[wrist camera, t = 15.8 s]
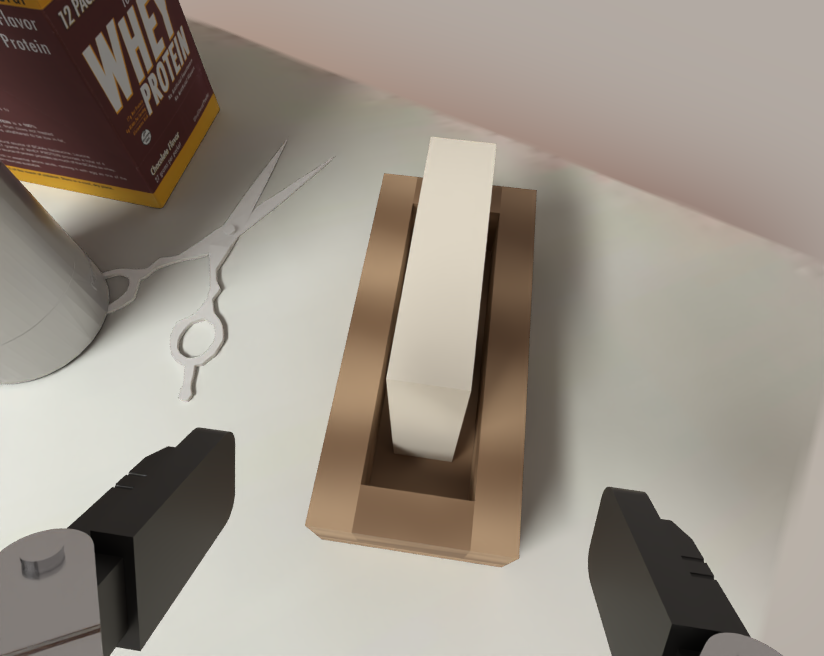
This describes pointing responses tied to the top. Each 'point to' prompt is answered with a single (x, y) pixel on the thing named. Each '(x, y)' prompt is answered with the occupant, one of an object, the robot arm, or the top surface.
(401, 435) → the white rectangular block
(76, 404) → the top surface
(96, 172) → the supplement box
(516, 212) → the walnut box
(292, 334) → the top surface
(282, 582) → the top surface
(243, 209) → the scissors
